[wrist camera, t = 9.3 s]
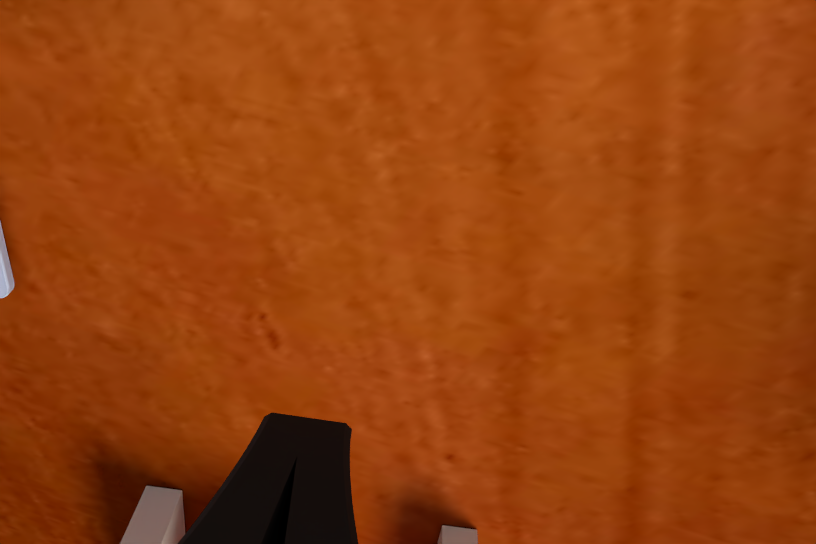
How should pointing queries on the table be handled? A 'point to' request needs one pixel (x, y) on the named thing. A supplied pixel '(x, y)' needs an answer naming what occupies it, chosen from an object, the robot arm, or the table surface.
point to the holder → (164, 521)
